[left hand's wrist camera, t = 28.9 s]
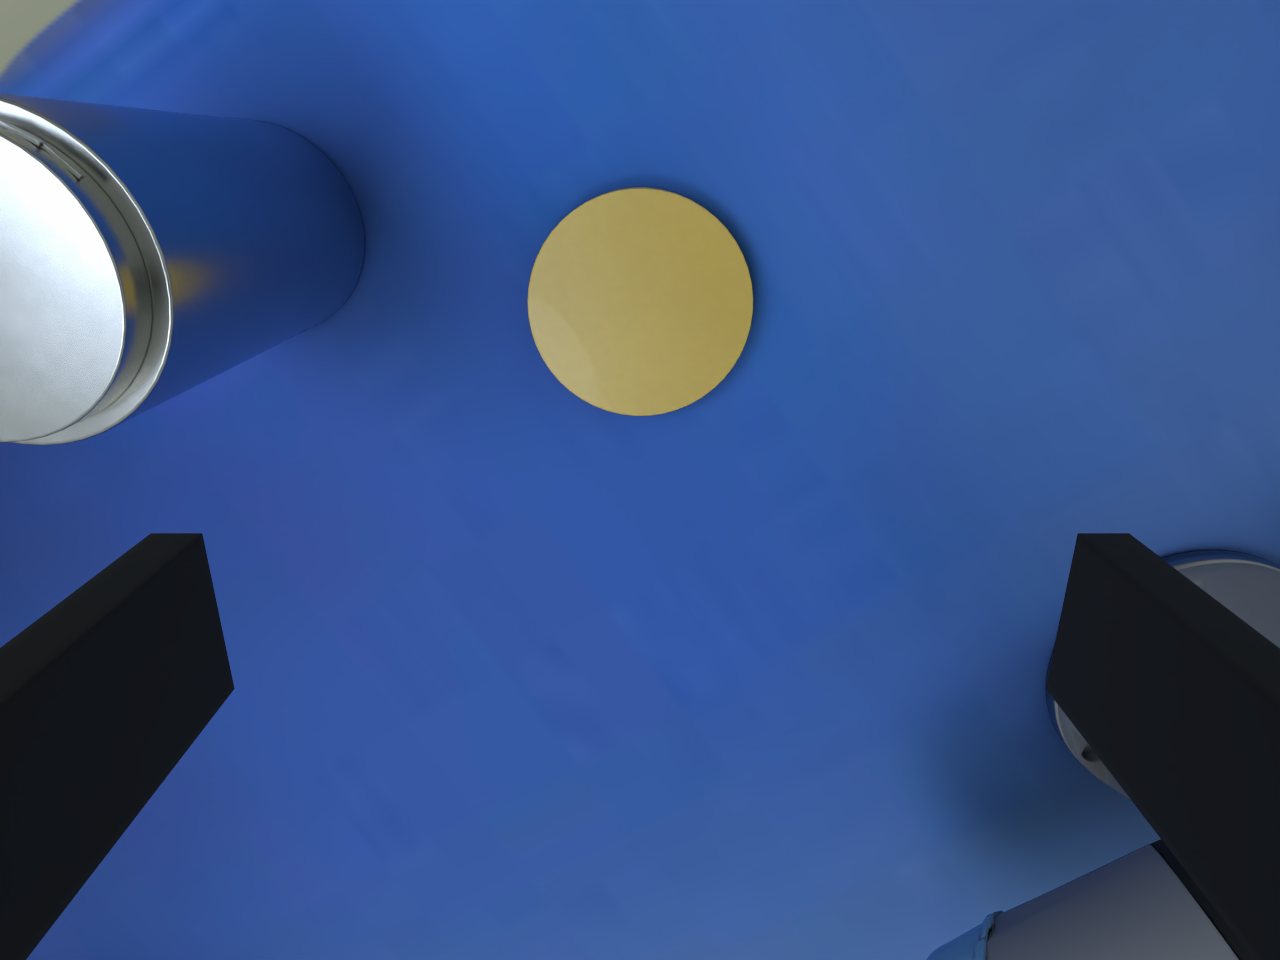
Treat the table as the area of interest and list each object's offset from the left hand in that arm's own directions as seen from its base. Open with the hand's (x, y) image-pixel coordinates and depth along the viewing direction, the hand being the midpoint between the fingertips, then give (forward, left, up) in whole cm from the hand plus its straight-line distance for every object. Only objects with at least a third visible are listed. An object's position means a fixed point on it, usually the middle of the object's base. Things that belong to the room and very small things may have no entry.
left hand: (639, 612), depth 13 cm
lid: (0, 0, -28) cm, 28 cm away
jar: (+18, 0, -30) cm, 35 cm away
